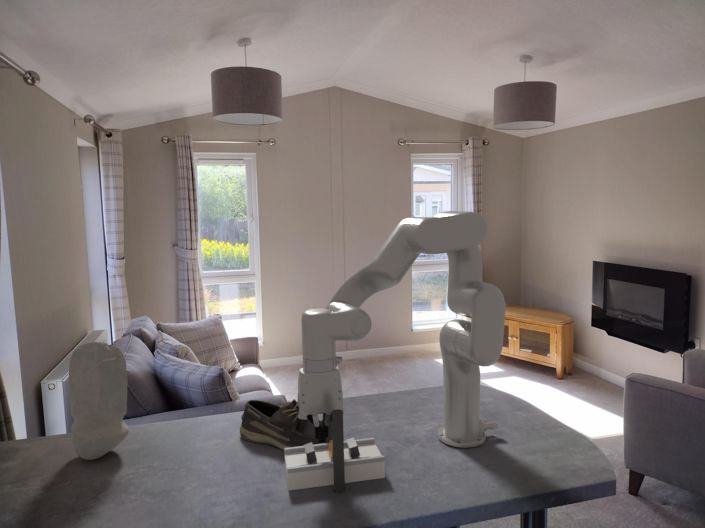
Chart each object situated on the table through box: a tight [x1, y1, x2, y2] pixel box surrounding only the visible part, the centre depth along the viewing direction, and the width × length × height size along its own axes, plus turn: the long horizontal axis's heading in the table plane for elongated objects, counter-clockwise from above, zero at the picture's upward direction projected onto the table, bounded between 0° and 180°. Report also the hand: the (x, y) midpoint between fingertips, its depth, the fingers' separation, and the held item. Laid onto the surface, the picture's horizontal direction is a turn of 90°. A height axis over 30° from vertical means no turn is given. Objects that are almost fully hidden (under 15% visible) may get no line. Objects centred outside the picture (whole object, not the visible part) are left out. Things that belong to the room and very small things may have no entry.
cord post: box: [332, 409, 346, 494], centre depth 111 cm, size 2×2×18 cm
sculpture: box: [68, 341, 130, 461], centre depth 128 cm, size 15×12×30 cm
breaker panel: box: [283, 437, 386, 491], centre depth 119 cm, size 22×10×5 cm, turn 102°
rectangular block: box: [328, 440, 333, 459], centre depth 119 cm, size 2×4×2 cm, turn 12°
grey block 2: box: [345, 436, 360, 458], centre depth 119 cm, size 2×4×2 cm, turn 11°
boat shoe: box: [239, 399, 324, 452], centre depth 135 cm, size 11×29×11 cm, turn 70°
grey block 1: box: [304, 442, 317, 463], centre depth 117 cm, size 2×4×2 cm, turn 11°
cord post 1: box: [326, 421, 333, 443], centre depth 125 cm, size 2×2×18 cm
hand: (321, 440), depth 118 cm, fingers closed
